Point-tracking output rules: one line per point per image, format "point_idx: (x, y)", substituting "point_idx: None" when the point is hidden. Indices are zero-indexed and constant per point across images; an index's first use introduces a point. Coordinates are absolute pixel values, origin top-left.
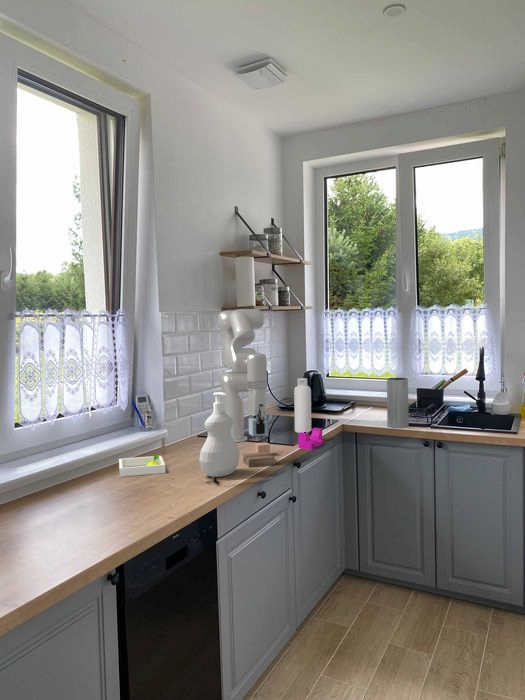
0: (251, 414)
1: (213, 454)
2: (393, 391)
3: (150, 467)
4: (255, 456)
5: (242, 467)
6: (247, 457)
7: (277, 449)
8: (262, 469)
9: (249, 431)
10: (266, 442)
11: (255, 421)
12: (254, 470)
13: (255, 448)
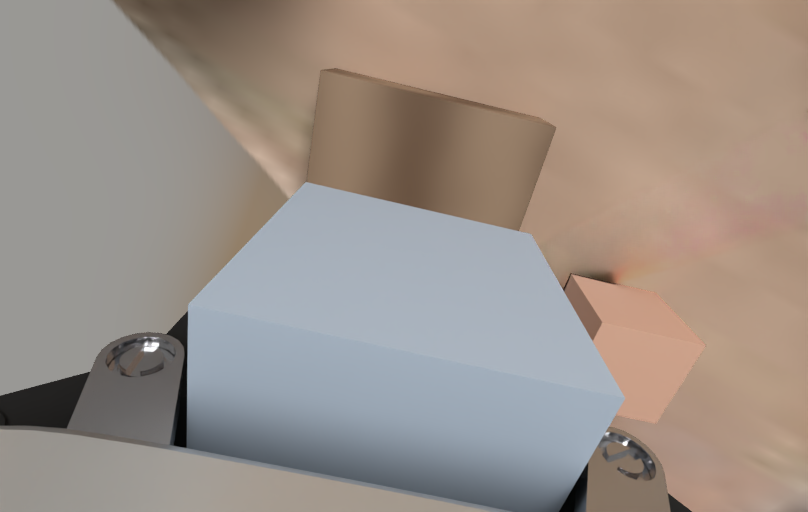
0: (287, 480)
1: None
2: None
3: None
4: (393, 173)
5: (359, 13)
6: (397, 93)
7: (675, 462)
8: (231, 126)
9: (500, 241)
10: (654, 422)
11: (203, 354)
12: (225, 56)
13: (668, 318)
